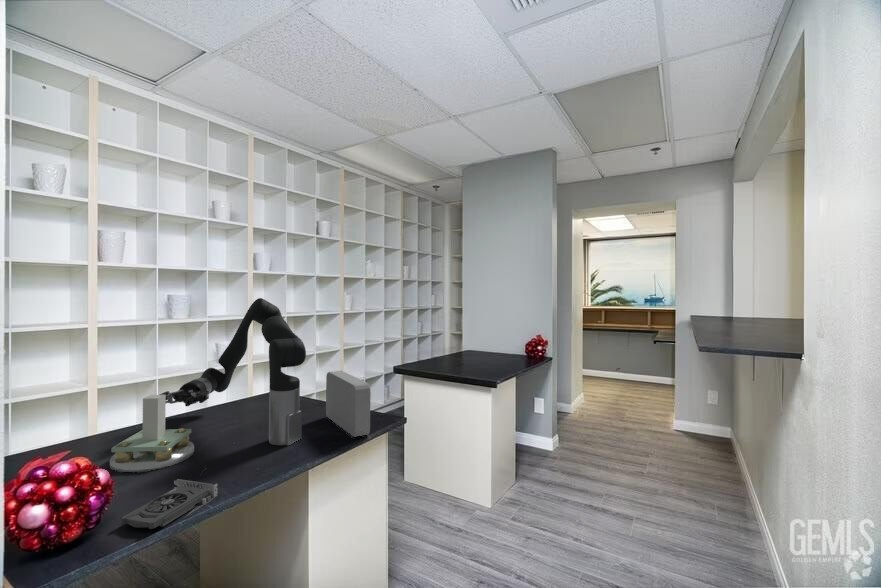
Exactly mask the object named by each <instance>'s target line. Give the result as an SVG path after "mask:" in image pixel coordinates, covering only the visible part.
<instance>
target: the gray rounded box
mask: <svg viewBox="0 0 881 588" xmlns="http://www.w3.org/2000/svg"><path fill="white" fill-rule="evenodd" d="M325 382H326V383H325V385H326V386H325V388H326V389H325V415H326V418H327V417H328V418H329V419H331V420H332V421H333V422H335V423H336V424H337V425H339V426H340V427H342V428H343V429H344V430H346V431H347V432H348V433H350V434H351V435H352V436H354V437H357V436H362V435H367V436H369V434H370V433H371V432H370V431H371V398H372V397H371V394H372V393H371V391H372V390H371V386H370V384H369V383H368V382H366V381H364V380H362V379H360V378H358V377H356V376H354V375H352V374H350V373H347V372H345V371H343V370H336V371H328V372H326V380H325ZM328 418H327V419H328ZM329 419H328V420H329ZM333 422H332V423H333ZM337 425H336V426H337ZM362 437H363V436H362Z"/></svg>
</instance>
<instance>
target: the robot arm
mask: <svg viewBox="0 0 881 588" xmlns="http://www.w3.org/2000/svg"><path fill="white" fill-rule="evenodd" d="M253 321H254V322H256V323H258V324H259V325H261V333H262V336H263V338H264V339H265V341H266V342H267V343H268V344H269V347H268V363H269V364H268V365H269V399H268V400H269V402H268V405H269V406H268V407H269V410H268V411H269V412H268V443H269V444H270V445H272V446H290V445H292V444H294V442H295V443H296V441H297V442H298V440H299V441H301V440H302V438H303V437H302V436H303V435H302V431H303V430H302V429H303V428H302V426H303V423H302V421H303V419H302V418H303V411H302V410H300V398H301V397H300V390H301V389H300V388H301V384H300V382H301V381H300V379H299V378H298V377H297V376H293V375H289V374H286V373H285V372H283V371H282V368H290V367H298V366H301V365H303V363H305V360H306V358H307V357H306V356H307V351H306V346H305V343H304V342H303V340H302V339H301V338H300V337H299V336H298V335H296V333H294V331H293V330H292V329H291V328H290V325H289V324H288V323H287V322H286V320H285V319H284V318H283V315H282V312H281V310H280V308H279V307H277V306H276V305H274V304H273V303H271V302H270V301H268V300H266V299H264V298H262V297H258V298H257V299H255V300H254V301H253V302H252V303H251V305H250V306H249V308H248V309H247V311H246V312H245V315H244V316H243V319H242V320H241V322H240V324H239V326H238V328H237V330H236V332H235V334H234V336H233V338H232V339H231V341H230V342H229V344H228V345H227V346H226V347H225V350H224V351H223V352H222V354H220V356H219V358H218V360H217V361H218V364H219V365H220V366H221V367H222V368H223V369H224V372H222V371H220V370H219V369H217V368H215V367H208V368H206V369H205V370H204V371H203V373H202V374H201V376H200V377H198V378H195V379H192V380H190V381H188V382H186V383H184V384H182V386H180V388H179V390H177V391H172V392H170V391H168V390H167V391H164V392H162V393H160V394H158V395H166V402H165V405H166V404H176V403H184V406H185V407H189V406H191V405H194V404H197V403H199V404H202V403H205V401H207V400H208V399H210V394H212V393H213V392H214V391H215V392H216V393H222V392H224V391H226V389H228V387H229V386H230V383H231V381H232V378H233V377H232V376H233V375H234V372H235V369H236V368H237V366H238V364H239V363H240V362H241V360H242V359H243V357H244V356H245V355H246V352H247V349H248V338H249V337H248V335H249V330H250V327H251V324H252V322H253ZM300 439H301V440H300Z"/></svg>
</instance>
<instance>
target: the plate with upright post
mask: <svg viewBox="0 0 881 588" xmlns="http://www.w3.org/2000/svg"><path fill="white" fill-rule="evenodd" d="M166 401H167V400H166V395H159V394H150V395H148V396H145V397H143V398H142V429H141V430H140V431H138V432H137V433H135V434H133V435H131V436H129V437H128V438H126V439H124V440H123V441H121V442H119V443H118V444H115V445H114V446H112V447H111V450H110V451H111V453H115V452H137V451H167V450H168V449H170V448H171V447H173V446H174V445H175V444H177V443H178V442H179V441H181V440H182V439H183V438H185V437H186V436H187V435H189V436H190V434H191V433H192V428H184V433H179V429H180V428H175V429H174V428H173V429H172V428H169V429H168V428H167V429H166V404H165V402H166ZM163 440H166V446H161V441H163ZM124 441H127V447H122V442H124Z"/></svg>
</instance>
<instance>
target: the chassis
mask: <svg viewBox="0 0 881 588" xmlns="http://www.w3.org/2000/svg"><path fill="white" fill-rule="evenodd" d="M178 429H179V433H184V429H185V428H184V427H181V428H178ZM123 441H124V440H123ZM121 442H122V441H121ZM161 446H166V440H163V441H161ZM122 447H127V441H124V442H122ZM194 452H195V443H194V442H193V441H190V434H189V435H187V436H186V437H185V438H183V439H182V440H181V441H179V442H178V443H177V444H175V445H174V446H173V447H171V448H170V449H168V450H167V451H137V452H114V454H113V455H112V456H111V457H110V459H109V468H110V469H111V470H112V471H113V470H115V471H114V472H116V471H117V473H122V472H133V473H132V474H135V473H134V472H137V474H138V473H146V472H152V471H151V470H153V471H157V470H156V469H158V470H162V469H165V467H166V468H168V466H169V467H171V466H174V465H177V464H180V463H182V462H183V461H186V460H187V459H189V458H190V457H192V456H193V455H194Z"/></svg>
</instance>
